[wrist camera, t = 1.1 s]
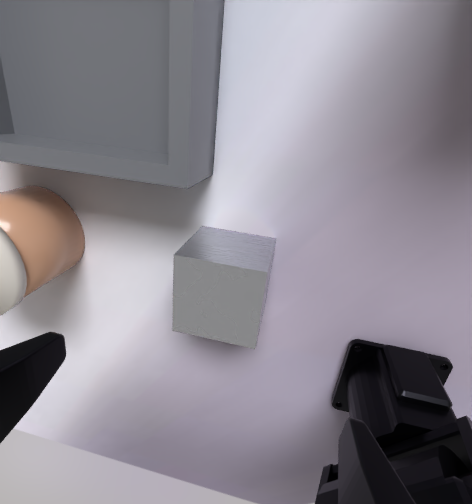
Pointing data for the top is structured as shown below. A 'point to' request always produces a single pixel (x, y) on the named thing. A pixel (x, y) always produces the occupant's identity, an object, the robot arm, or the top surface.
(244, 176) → the top surface
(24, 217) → the ceramic canister
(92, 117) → the tote
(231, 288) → the steel block
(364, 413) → the robot arm
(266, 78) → the top surface
